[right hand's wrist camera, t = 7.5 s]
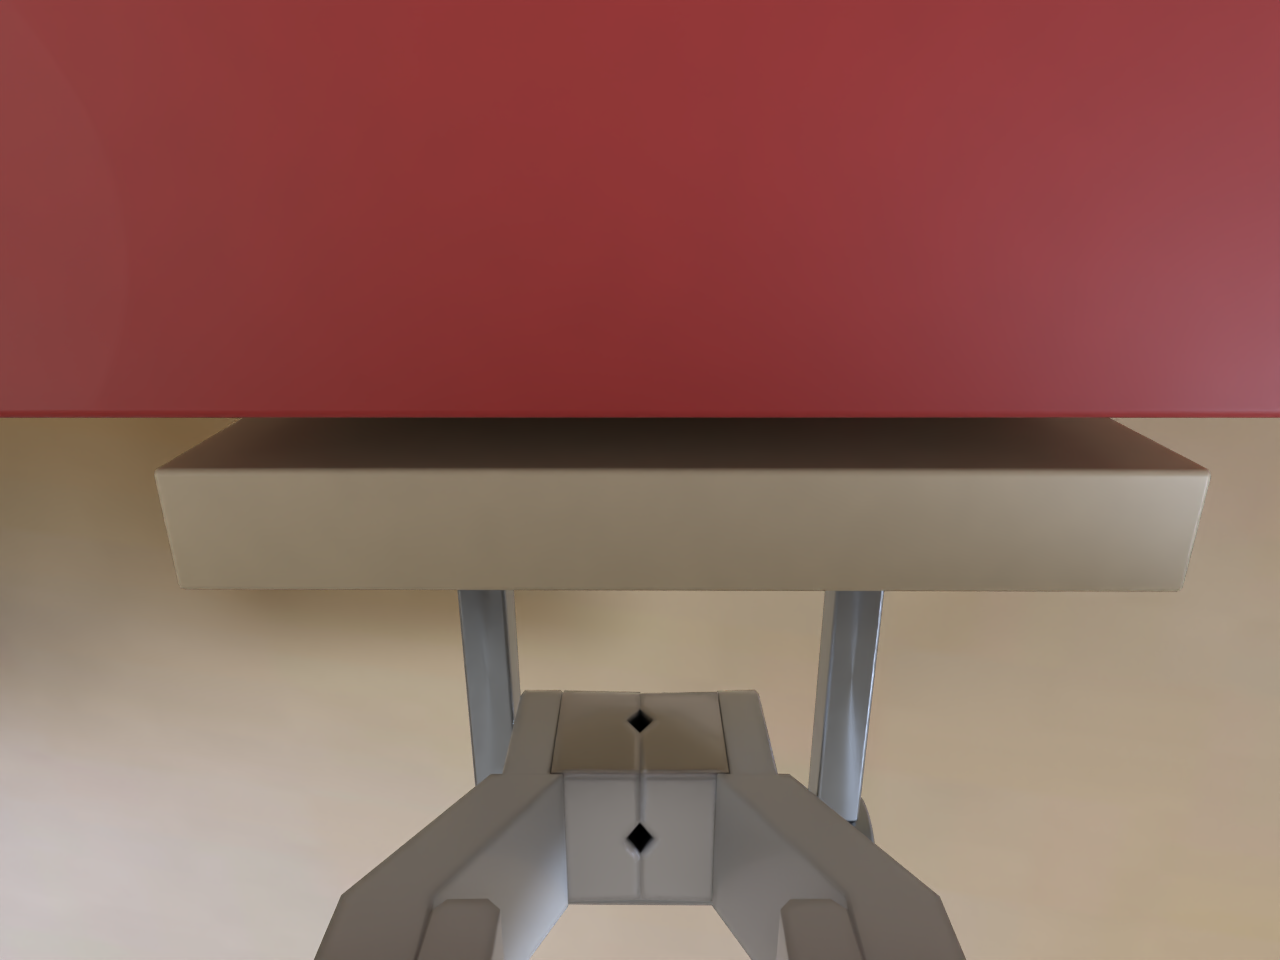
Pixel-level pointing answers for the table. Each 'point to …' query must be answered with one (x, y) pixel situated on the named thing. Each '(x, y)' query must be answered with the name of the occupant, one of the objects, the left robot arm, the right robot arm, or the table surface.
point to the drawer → (683, 527)
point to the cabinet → (639, 208)
